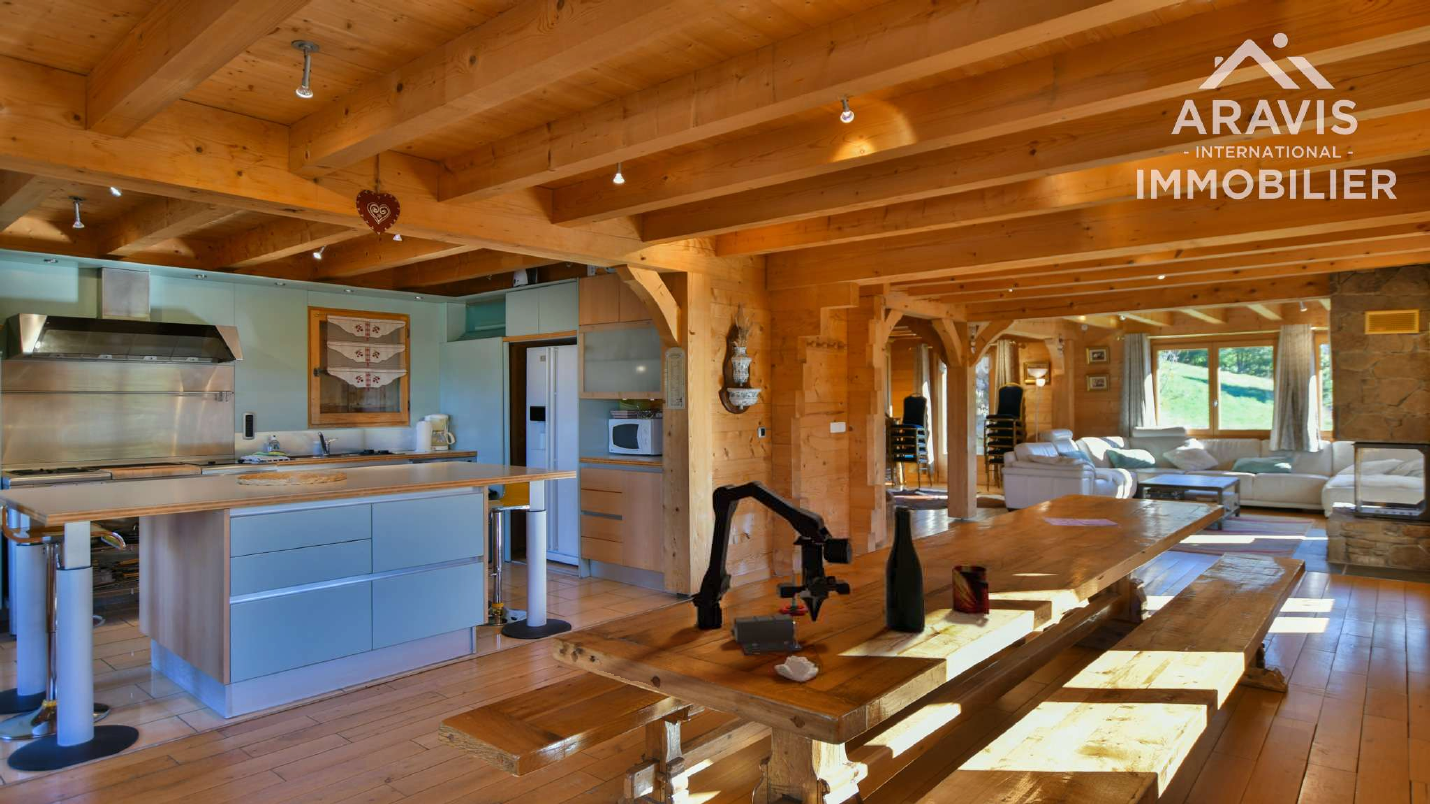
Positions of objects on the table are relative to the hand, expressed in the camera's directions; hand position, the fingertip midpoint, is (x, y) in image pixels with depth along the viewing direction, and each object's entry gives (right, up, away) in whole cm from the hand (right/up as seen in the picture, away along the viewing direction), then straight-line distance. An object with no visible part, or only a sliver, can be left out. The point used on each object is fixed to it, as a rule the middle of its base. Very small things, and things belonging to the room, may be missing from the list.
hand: (813, 621), depth 210 cm
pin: (-13, -4, -2) cm, 14 cm away
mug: (+50, -3, +20) cm, 54 cm away
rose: (-8, -5, -28) cm, 30 cm away
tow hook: (-2, -4, +26) cm, 26 cm away
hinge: (-13, -4, -2) cm, 14 cm away
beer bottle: (+25, -4, +5) cm, 26 cm away
